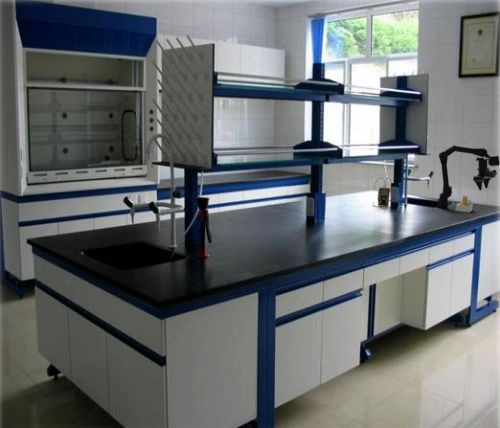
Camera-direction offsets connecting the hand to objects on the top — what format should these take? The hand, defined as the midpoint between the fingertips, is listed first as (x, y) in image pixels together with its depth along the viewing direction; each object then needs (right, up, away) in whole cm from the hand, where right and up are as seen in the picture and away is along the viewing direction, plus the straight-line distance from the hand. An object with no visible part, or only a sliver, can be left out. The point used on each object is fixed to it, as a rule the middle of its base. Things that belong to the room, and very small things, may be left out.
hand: (483, 189), depth 383 cm
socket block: (-13, -14, +2) cm, 19 cm away
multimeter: (-68, -12, +6) cm, 69 cm away
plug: (-13, -13, +2) cm, 19 cm away
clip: (-11, -11, 0) cm, 15 cm away
